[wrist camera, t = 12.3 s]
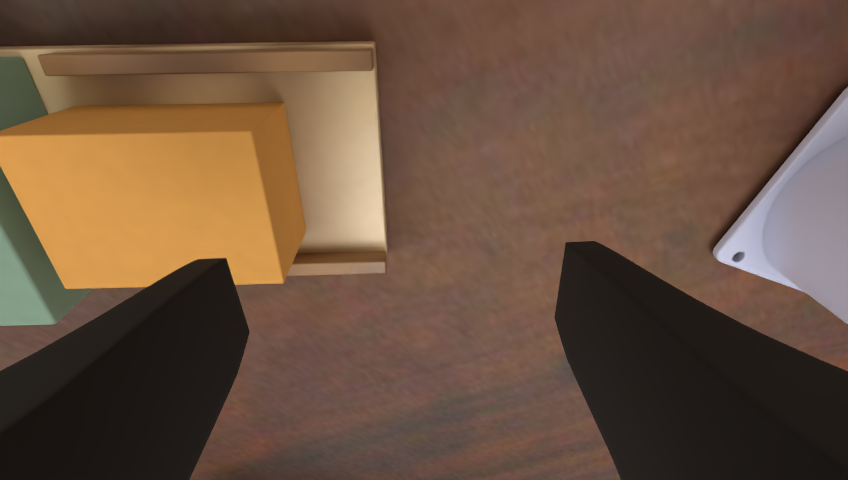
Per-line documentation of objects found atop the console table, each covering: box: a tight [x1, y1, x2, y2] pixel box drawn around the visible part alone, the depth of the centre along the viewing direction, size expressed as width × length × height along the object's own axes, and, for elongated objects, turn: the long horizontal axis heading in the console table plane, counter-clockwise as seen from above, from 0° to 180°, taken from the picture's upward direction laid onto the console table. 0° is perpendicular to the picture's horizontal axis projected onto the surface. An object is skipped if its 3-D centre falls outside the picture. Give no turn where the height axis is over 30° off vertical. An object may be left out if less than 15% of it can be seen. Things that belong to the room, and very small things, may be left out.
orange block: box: [0, 102, 306, 289], centre depth 14 cm, size 7×5×4 cm
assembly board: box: [0, 41, 388, 276], centre depth 16 cm, size 17×8×2 cm, turn 91°
